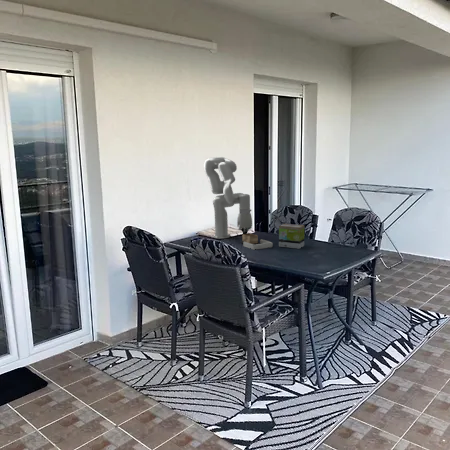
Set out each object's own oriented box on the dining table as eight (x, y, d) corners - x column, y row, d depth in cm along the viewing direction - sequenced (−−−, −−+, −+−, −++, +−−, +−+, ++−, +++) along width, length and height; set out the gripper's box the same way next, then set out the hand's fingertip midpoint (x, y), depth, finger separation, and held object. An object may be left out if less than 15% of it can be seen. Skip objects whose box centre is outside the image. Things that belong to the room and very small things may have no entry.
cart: (241, 243, 330) (241, 234, 329) (251, 241, 334) (251, 233, 333) (248, 246, 321) (248, 236, 320) (259, 244, 325) (258, 235, 324)
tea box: (278, 247, 316) (278, 225, 314) (283, 244, 325) (283, 223, 323) (299, 249, 309) (300, 227, 307) (304, 246, 318) (304, 224, 316)
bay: (243, 246, 321) (243, 241, 321) (261, 243, 329) (261, 239, 328) (253, 249, 310) (253, 245, 309) (272, 246, 317) (272, 242, 316)
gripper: (250, 210, 336) (251, 235, 339) (232, 212, 329) (233, 237, 332) (256, 211, 330) (256, 236, 333) (238, 213, 323) (238, 239, 326)
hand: (245, 237), depth 333 cm, fingers closed
